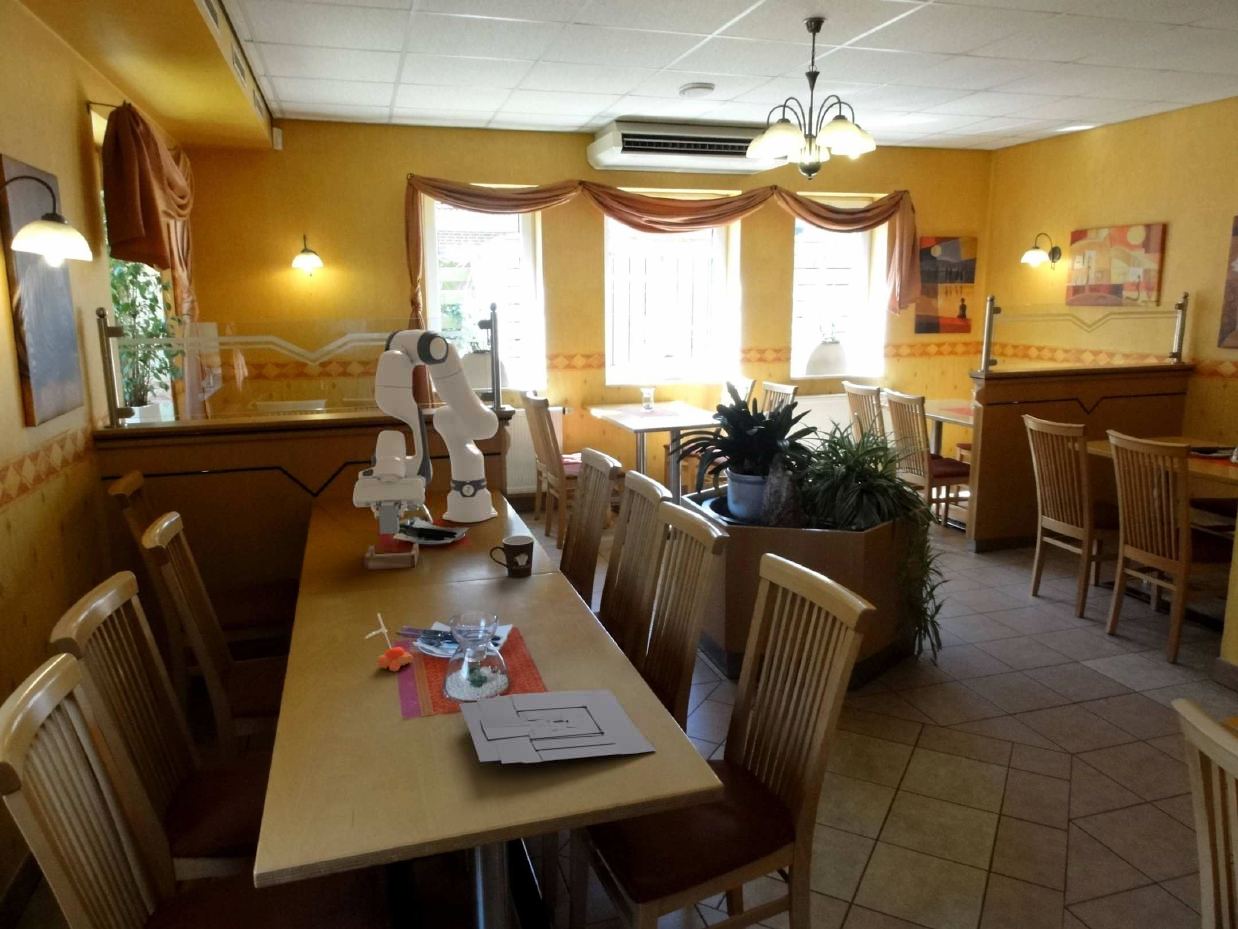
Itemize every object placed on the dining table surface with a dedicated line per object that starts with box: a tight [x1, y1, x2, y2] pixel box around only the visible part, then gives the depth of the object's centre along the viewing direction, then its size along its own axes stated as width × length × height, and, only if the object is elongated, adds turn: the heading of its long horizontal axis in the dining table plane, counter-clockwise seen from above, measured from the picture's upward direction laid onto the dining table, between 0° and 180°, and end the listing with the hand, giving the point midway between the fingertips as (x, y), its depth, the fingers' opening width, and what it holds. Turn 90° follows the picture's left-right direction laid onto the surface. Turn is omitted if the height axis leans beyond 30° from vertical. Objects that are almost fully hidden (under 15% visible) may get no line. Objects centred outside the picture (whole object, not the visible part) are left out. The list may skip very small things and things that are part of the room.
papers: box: [458, 689, 657, 764], centre depth 149 cm, size 24×30×4 cm
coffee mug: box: [489, 534, 535, 579], centre depth 232 cm, size 12×9×10 cm
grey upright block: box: [377, 501, 400, 535], centre depth 242 cm, size 4×5×9 cm
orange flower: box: [364, 612, 414, 672], centre depth 176 cm, size 6×10×12 cm, turn 116°
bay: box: [363, 542, 420, 571], centre depth 245 cm, size 12×14×4 cm
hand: (388, 517), depth 241 cm, fingers closed on grey upright block, 5 cm apart
